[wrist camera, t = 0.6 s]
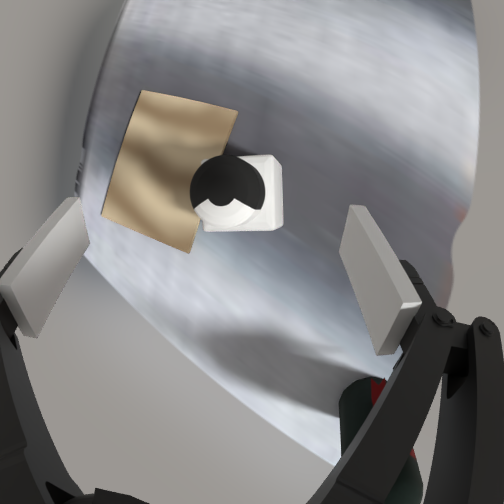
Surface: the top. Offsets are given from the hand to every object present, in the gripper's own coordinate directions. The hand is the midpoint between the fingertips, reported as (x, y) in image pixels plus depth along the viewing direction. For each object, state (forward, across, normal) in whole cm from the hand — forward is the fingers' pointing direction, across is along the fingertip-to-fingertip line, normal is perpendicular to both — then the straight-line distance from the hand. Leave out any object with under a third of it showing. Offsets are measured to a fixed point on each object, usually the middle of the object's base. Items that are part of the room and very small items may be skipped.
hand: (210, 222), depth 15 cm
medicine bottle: (+21, +3, -9) cm, 23 cm away
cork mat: (+25, -8, -7) cm, 27 cm away
